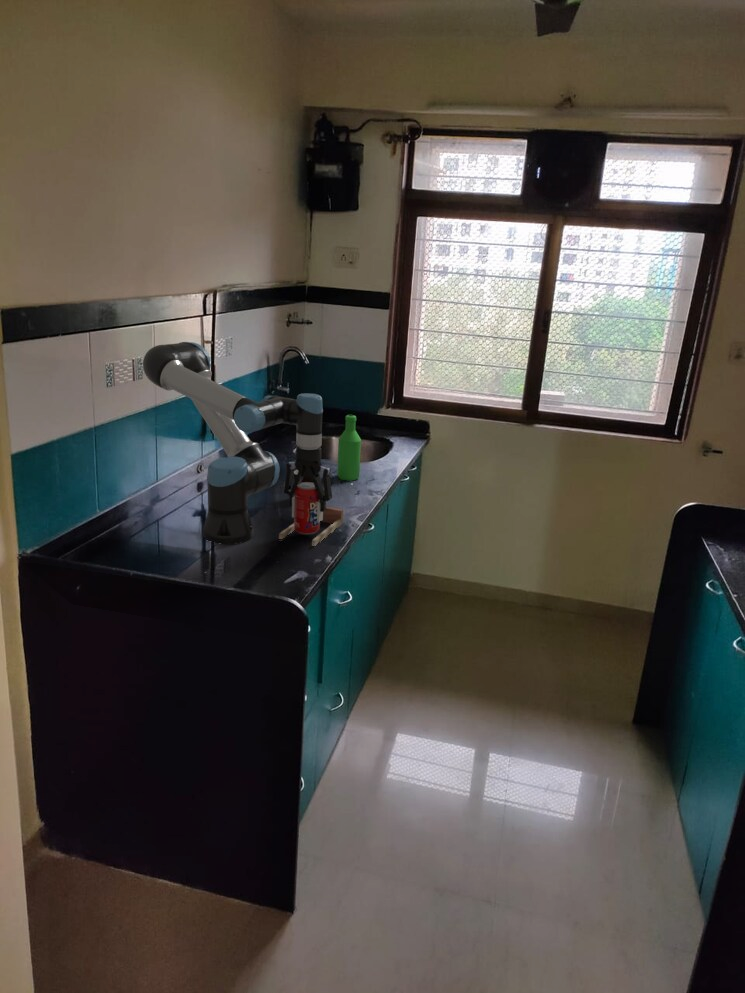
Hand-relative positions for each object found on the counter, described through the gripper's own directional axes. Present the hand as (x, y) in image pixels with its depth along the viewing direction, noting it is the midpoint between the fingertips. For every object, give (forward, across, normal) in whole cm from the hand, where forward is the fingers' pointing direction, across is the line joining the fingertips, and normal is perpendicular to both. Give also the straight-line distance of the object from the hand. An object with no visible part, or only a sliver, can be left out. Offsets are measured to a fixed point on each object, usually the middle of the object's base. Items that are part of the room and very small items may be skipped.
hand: (307, 518), depth 217 cm
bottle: (+6, +12, -63) cm, 64 cm away
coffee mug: (+6, +16, -33) cm, 37 cm away
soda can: (+4, 0, 0) cm, 4 cm away
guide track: (+6, 0, -4) cm, 7 cm away
